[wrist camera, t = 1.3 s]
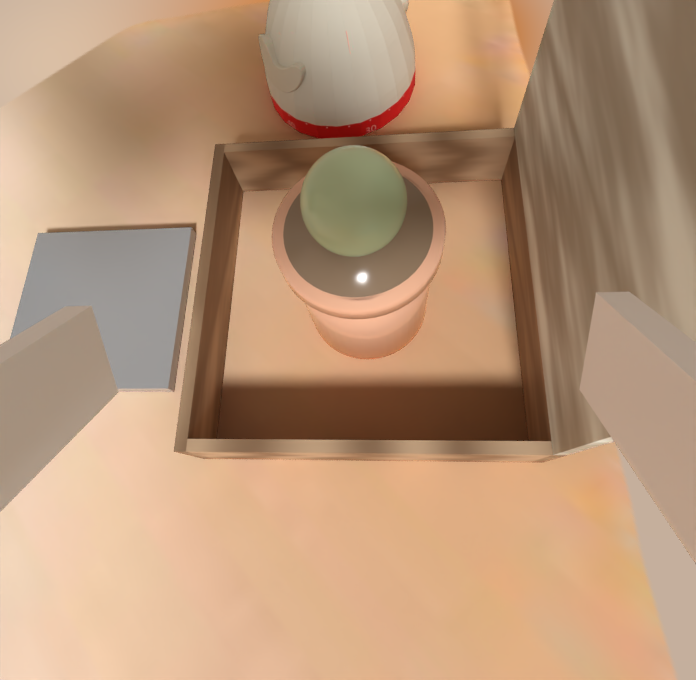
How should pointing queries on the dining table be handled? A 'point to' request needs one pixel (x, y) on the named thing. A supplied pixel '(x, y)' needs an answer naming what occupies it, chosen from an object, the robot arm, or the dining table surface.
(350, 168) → the seedling pot
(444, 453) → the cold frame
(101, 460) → the dining table surface
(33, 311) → the slate tile
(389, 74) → the kitchen timer
